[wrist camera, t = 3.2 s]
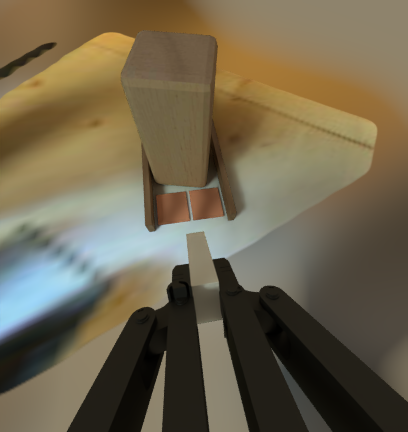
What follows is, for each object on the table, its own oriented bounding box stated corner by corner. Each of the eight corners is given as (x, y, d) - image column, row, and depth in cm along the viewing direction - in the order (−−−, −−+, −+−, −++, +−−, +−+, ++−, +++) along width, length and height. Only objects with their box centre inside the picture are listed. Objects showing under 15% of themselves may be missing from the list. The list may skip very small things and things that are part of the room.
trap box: (149, 231, 34) (140, 217, 28) (141, 90, 49) (135, 63, 44) (233, 219, 35) (240, 204, 30) (200, 86, 51) (201, 59, 45)
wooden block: (209, 150, 42) (218, 31, 24) (206, 190, 38) (213, 83, 20) (163, 146, 42) (136, 25, 24) (154, 185, 38) (114, 75, 20)
